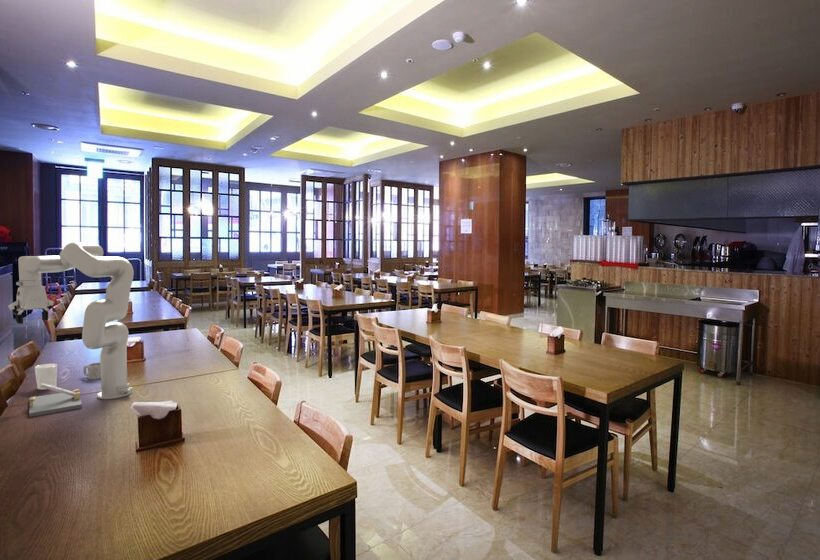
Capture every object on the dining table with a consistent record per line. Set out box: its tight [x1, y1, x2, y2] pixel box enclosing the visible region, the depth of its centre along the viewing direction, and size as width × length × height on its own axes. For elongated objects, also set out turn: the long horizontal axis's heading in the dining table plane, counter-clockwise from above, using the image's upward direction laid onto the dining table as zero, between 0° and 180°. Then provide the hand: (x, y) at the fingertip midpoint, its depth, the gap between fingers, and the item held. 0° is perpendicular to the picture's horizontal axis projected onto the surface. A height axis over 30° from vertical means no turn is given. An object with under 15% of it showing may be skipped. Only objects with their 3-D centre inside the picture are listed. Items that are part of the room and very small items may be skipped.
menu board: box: [28, 388, 83, 418], centre depth 182 cm, size 16×22×4 cm
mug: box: [83, 362, 101, 380], centre depth 219 cm, size 10×7×7 cm
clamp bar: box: [40, 383, 76, 396], centre depth 183 cm, size 14×3×1 cm, turn 130°
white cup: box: [34, 363, 58, 391], centre depth 203 cm, size 8×8×10 cm
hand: (32, 321), depth 201 cm, fingers open, 9 cm apart
